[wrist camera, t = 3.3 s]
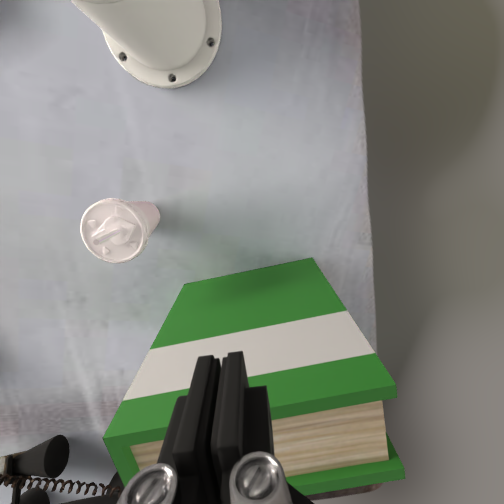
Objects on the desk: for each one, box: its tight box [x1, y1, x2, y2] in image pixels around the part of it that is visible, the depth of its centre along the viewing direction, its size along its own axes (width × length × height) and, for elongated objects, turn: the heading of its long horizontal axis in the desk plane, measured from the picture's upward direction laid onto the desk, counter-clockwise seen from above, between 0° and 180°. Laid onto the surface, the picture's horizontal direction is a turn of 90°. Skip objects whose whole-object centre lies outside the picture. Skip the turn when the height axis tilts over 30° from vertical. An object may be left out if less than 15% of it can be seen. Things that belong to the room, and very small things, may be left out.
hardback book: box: [103, 258, 405, 495], centre depth 30 cm, size 18×7×24 cm, turn 102°
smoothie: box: [80, 198, 160, 263], centre depth 32 cm, size 6×6×14 cm
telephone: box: [0, 435, 125, 504], centre depth 45 cm, size 15×13×30 cm
